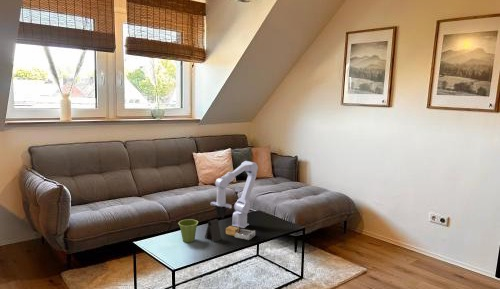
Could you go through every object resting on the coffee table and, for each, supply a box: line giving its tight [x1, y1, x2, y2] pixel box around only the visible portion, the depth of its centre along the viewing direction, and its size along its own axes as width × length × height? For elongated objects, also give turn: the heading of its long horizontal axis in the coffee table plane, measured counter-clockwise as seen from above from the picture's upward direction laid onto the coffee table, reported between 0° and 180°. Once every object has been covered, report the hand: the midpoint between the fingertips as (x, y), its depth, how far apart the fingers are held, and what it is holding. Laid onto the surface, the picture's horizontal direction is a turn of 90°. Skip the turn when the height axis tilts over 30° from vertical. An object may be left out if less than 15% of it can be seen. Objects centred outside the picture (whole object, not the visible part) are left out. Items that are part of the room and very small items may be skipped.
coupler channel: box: [234, 228, 256, 241], centre depth 230 cm, size 10×9×3 cm
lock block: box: [225, 225, 240, 237], centre depth 233 cm, size 7×5×4 cm
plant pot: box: [178, 218, 199, 243], centre depth 221 cm, size 12×12×11 cm
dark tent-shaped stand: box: [204, 218, 222, 243], centre depth 224 cm, size 9×6×12 cm, turn 46°
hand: (220, 217), depth 236 cm, fingers open, 2 cm apart
